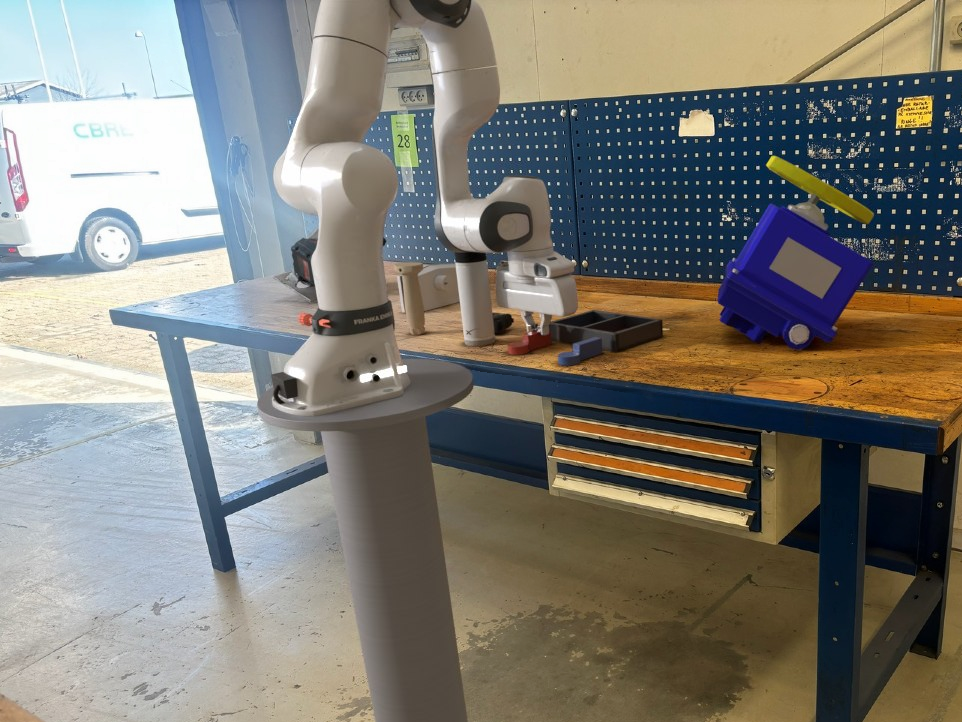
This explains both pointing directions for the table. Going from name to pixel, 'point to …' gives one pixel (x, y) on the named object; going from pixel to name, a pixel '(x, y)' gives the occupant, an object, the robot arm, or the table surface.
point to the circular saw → (303, 267)
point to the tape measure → (502, 322)
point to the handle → (412, 296)
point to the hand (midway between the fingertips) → (538, 333)
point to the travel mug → (475, 298)
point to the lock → (435, 286)
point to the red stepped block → (529, 343)
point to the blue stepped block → (581, 351)
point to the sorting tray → (606, 329)
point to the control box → (794, 268)
